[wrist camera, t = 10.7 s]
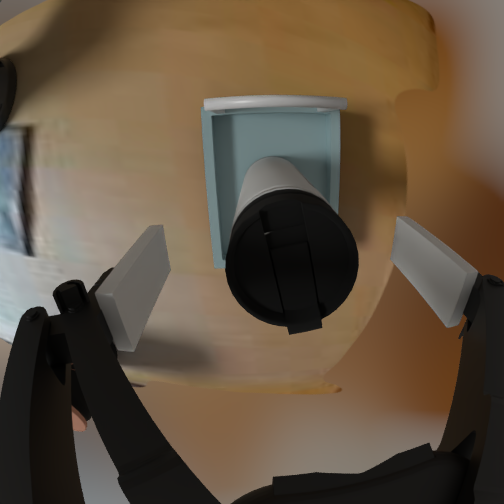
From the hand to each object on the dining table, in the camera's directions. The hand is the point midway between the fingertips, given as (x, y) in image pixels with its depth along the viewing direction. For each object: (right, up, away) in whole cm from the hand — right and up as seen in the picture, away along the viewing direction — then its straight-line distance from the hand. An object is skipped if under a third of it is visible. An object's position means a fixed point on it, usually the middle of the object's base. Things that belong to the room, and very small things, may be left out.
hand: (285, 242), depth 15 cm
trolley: (+1, +8, +19) cm, 21 cm away
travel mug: (0, +7, +15) cm, 17 cm away
